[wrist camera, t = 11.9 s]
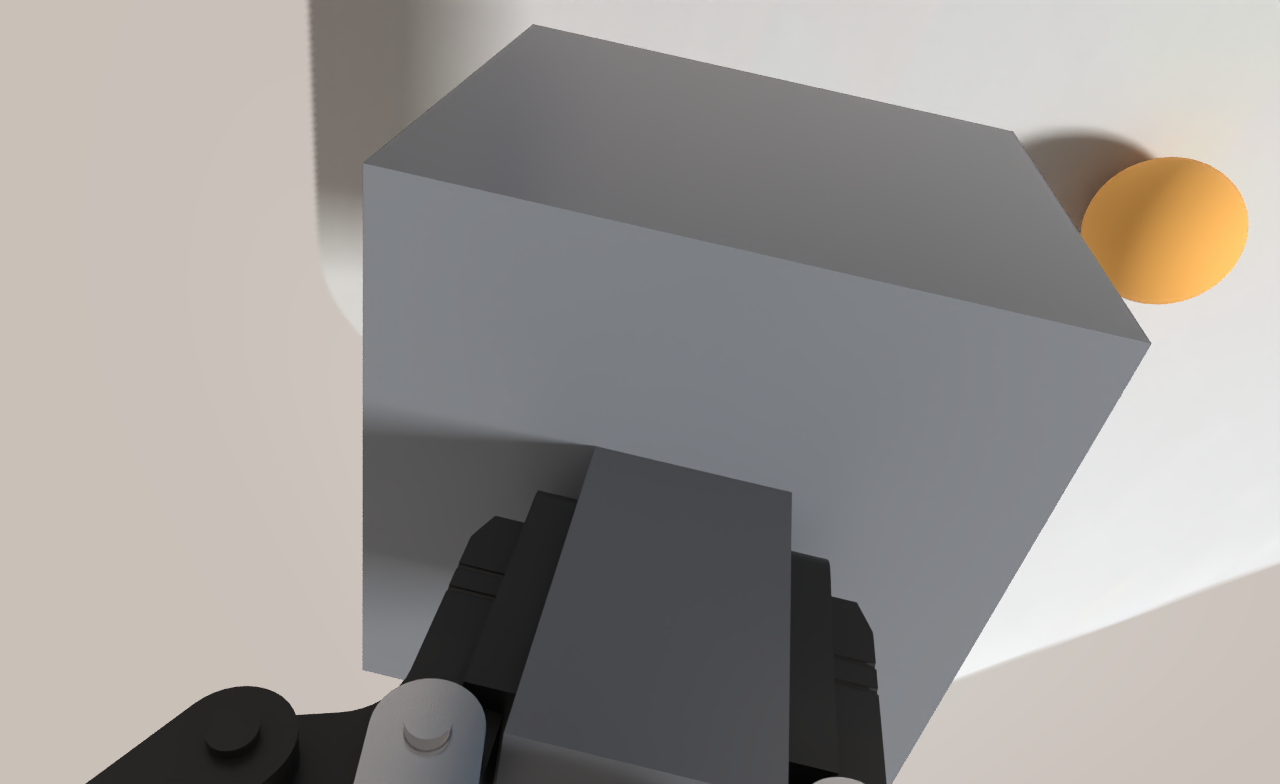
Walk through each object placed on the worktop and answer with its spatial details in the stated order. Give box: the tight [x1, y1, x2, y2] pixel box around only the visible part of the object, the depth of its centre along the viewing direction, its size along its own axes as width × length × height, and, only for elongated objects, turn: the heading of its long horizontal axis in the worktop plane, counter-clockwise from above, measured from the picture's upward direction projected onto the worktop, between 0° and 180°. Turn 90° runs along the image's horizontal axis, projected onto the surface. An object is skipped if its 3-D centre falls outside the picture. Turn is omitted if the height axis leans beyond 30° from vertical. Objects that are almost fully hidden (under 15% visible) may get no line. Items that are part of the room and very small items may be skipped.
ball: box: [1080, 157, 1248, 304], centre depth 31 cm, size 5×5×5 cm
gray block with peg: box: [363, 24, 1151, 784], centre depth 16 cm, size 10×10×14 cm
